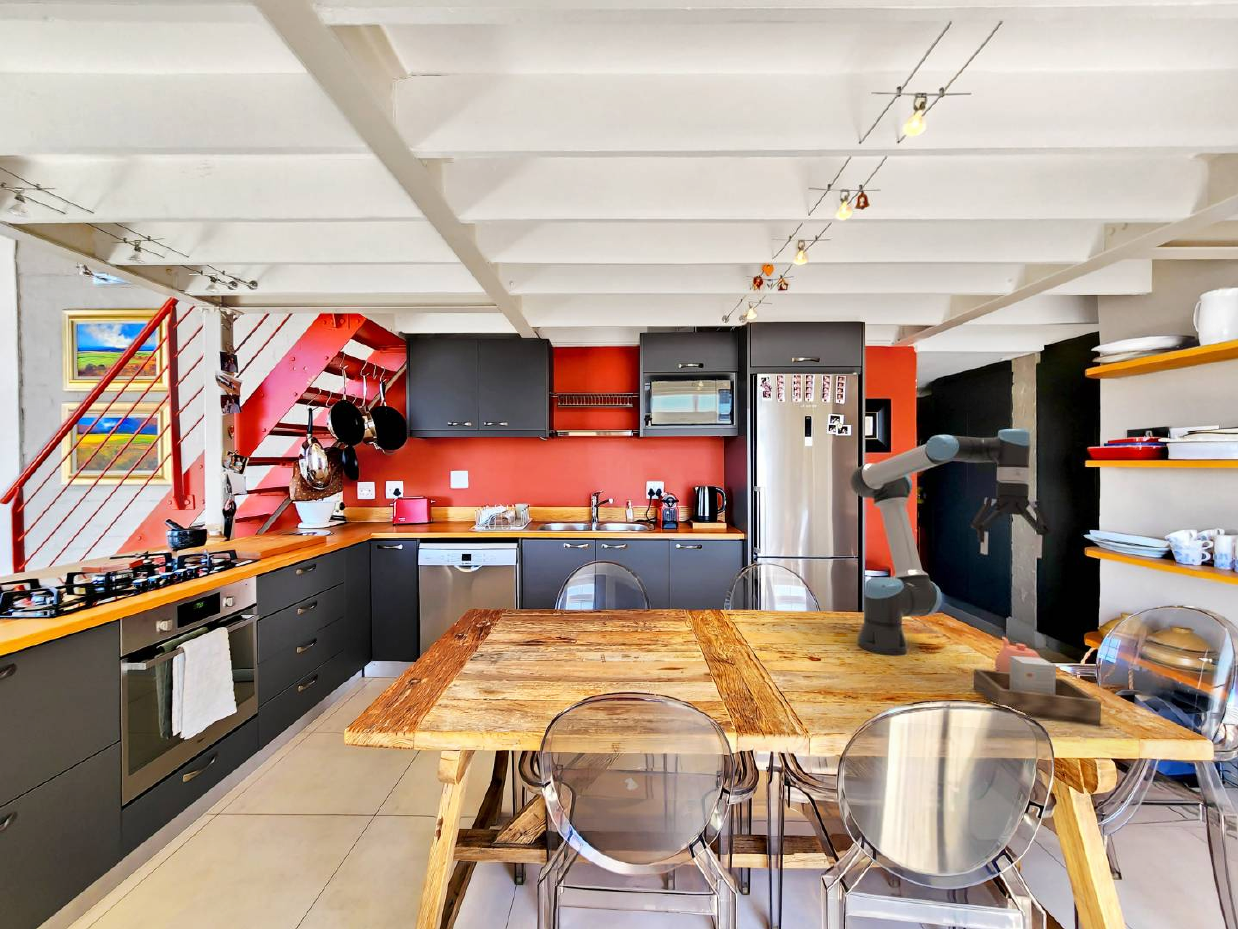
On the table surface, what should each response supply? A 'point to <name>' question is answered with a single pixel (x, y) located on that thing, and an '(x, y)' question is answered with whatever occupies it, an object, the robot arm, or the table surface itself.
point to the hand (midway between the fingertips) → (1010, 555)
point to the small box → (1032, 675)
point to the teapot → (1018, 650)
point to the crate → (1039, 698)
